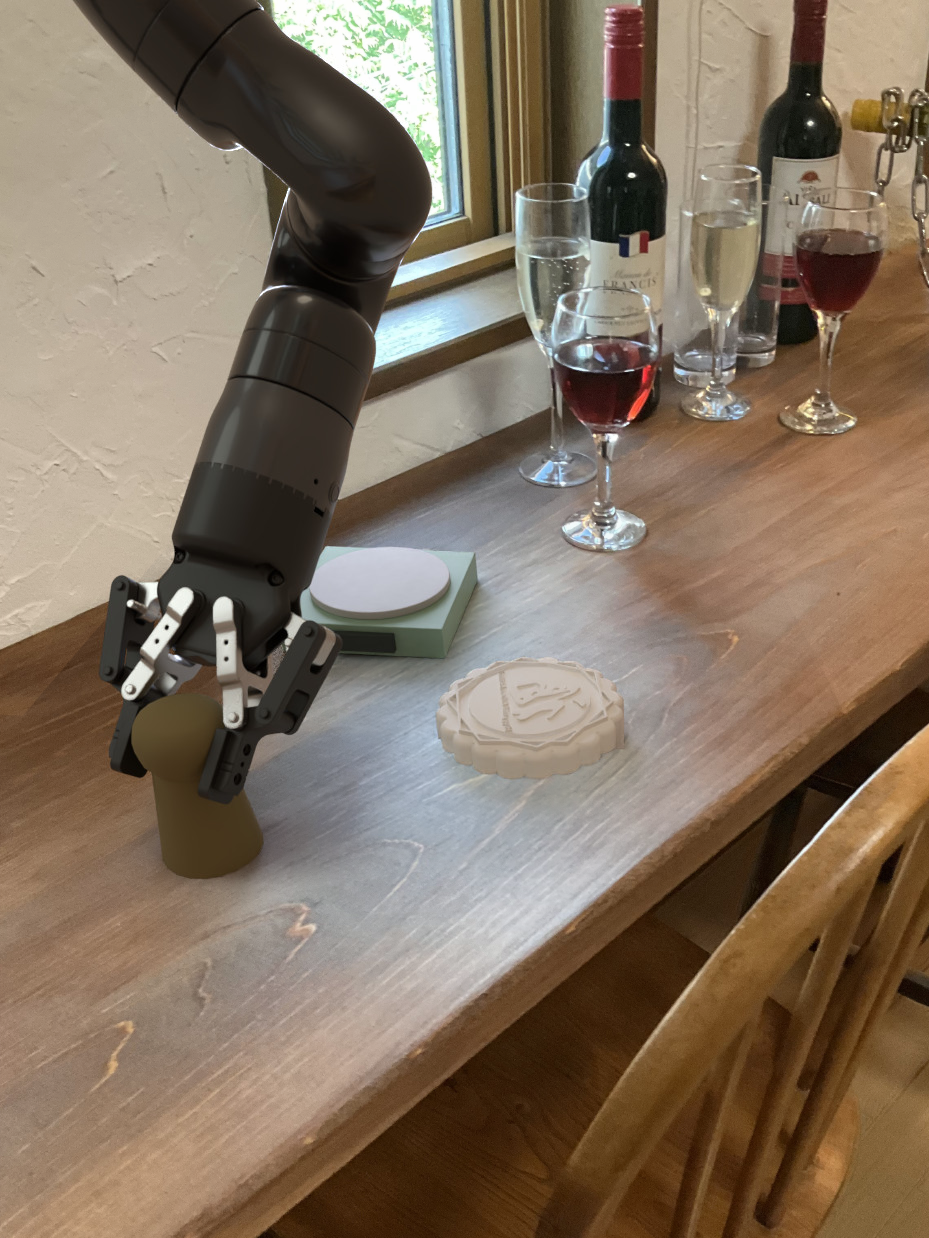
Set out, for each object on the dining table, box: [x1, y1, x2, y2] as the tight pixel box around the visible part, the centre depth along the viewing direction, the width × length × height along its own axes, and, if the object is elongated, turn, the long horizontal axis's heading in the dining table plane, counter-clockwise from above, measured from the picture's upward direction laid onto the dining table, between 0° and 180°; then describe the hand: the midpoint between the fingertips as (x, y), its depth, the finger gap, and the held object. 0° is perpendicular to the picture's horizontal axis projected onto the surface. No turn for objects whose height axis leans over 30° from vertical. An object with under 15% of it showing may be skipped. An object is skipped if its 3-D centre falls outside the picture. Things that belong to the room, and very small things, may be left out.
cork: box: [132, 692, 265, 880], centre depth 70 cm, size 6×6×11 cm
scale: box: [281, 545, 479, 659], centre depth 95 cm, size 12×12×3 cm
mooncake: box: [435, 656, 625, 780], centre depth 82 cm, size 12×12×4 cm
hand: (170, 786), depth 68 cm, fingers closed on cork, 5 cm apart
